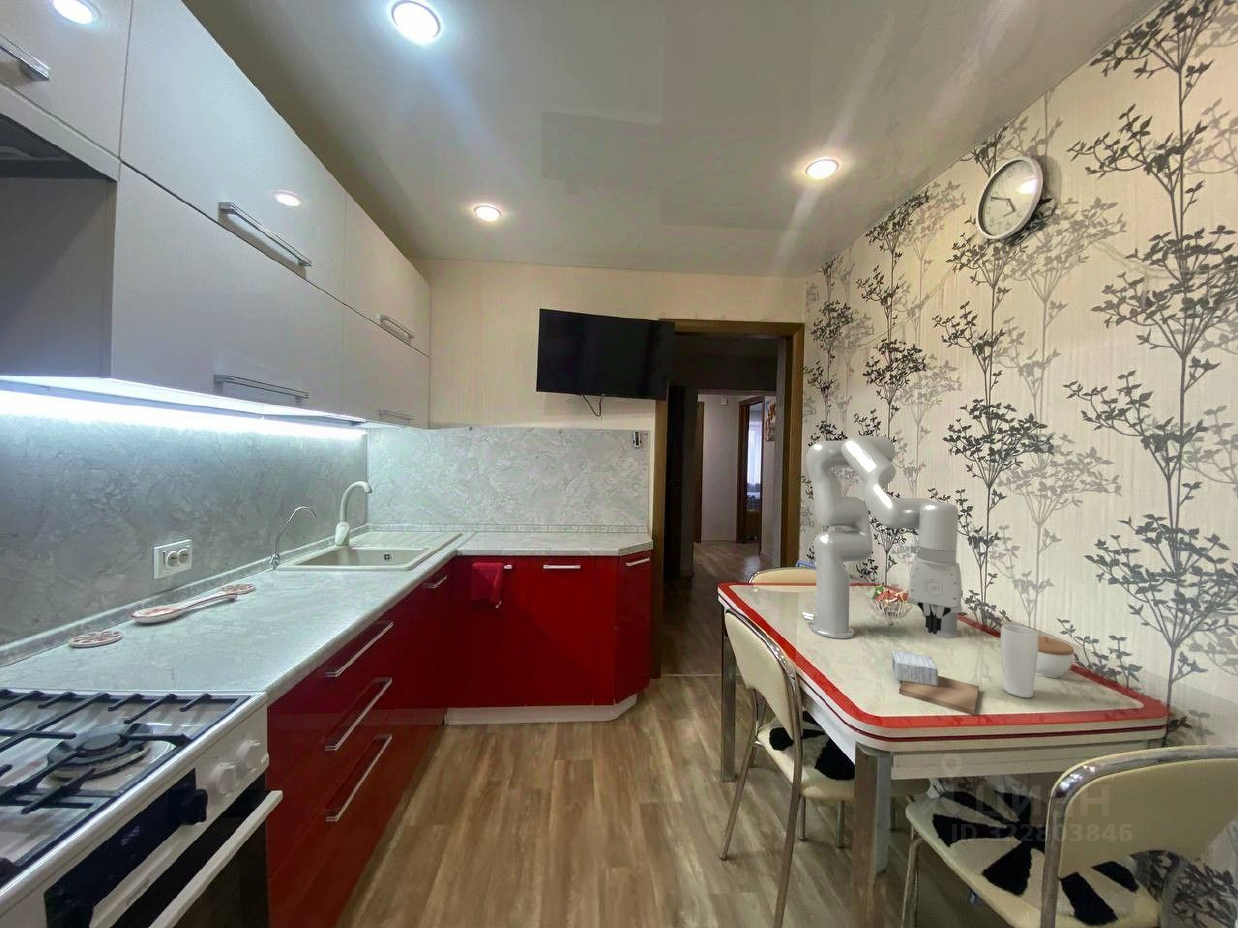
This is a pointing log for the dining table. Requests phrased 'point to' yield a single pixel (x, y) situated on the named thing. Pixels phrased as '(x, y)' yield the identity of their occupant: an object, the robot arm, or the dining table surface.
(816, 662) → the dining table surface
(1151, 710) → the dining table surface
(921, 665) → the medicine box
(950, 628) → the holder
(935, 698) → the walnut board
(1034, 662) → the white tall cup
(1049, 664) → the lidded jar
